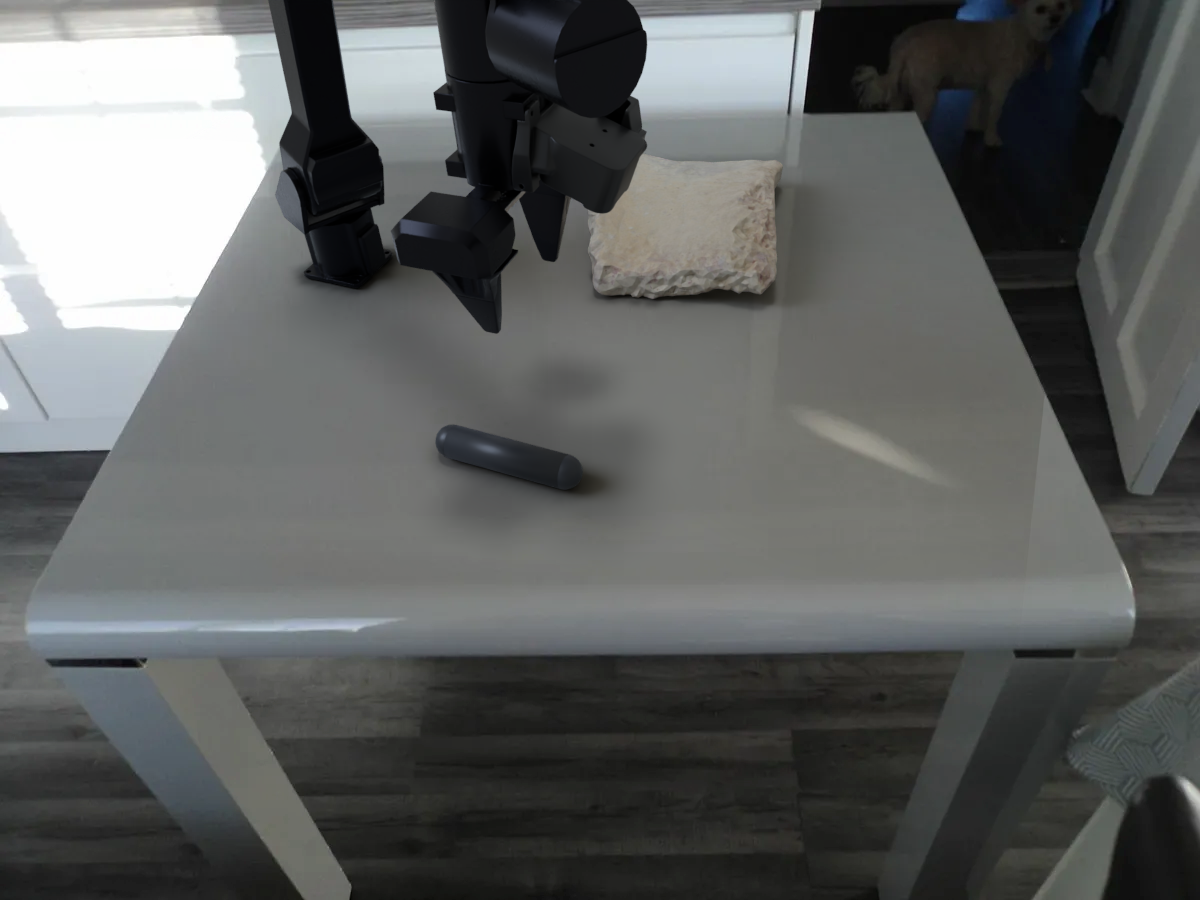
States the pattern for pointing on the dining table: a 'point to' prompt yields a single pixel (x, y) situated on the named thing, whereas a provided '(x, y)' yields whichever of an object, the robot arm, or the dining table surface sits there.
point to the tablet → (688, 229)
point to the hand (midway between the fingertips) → (522, 294)
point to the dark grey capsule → (509, 456)
